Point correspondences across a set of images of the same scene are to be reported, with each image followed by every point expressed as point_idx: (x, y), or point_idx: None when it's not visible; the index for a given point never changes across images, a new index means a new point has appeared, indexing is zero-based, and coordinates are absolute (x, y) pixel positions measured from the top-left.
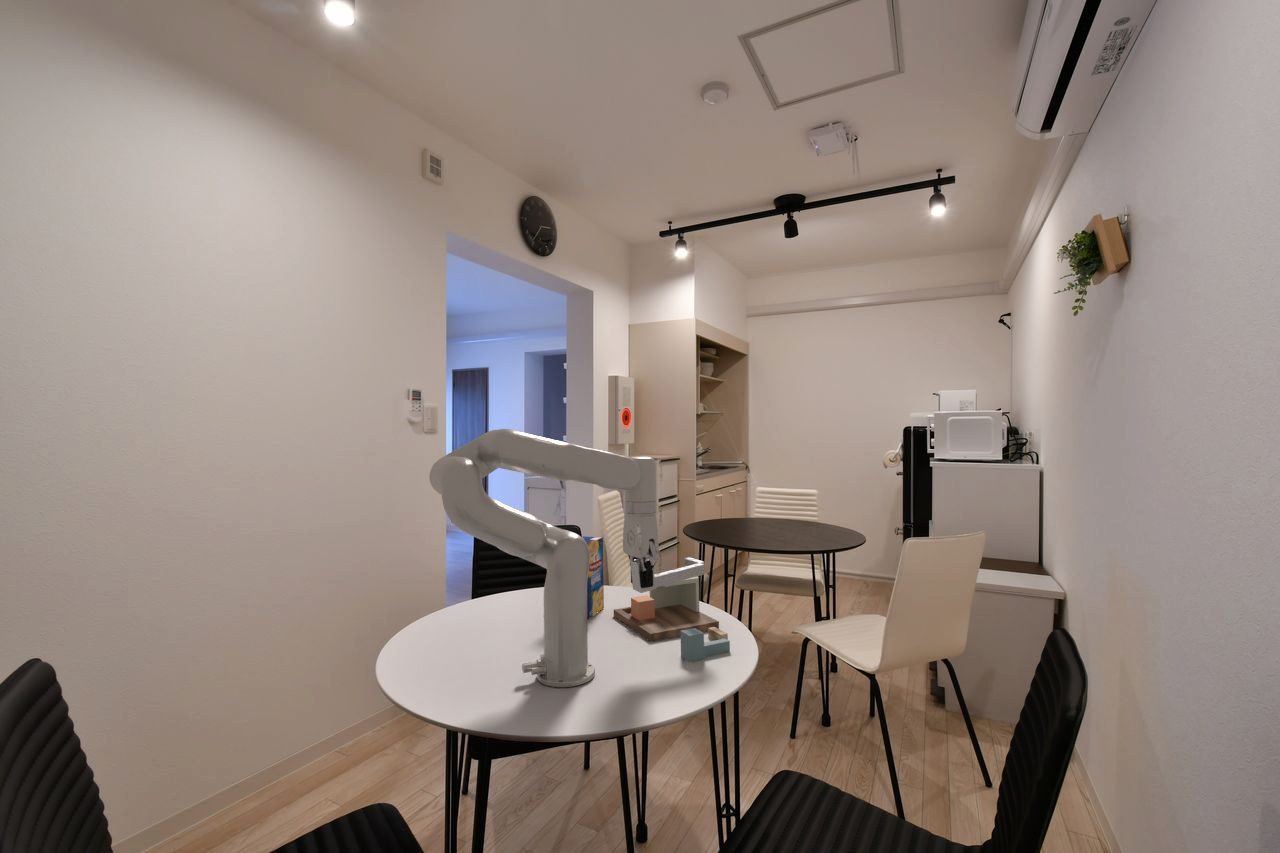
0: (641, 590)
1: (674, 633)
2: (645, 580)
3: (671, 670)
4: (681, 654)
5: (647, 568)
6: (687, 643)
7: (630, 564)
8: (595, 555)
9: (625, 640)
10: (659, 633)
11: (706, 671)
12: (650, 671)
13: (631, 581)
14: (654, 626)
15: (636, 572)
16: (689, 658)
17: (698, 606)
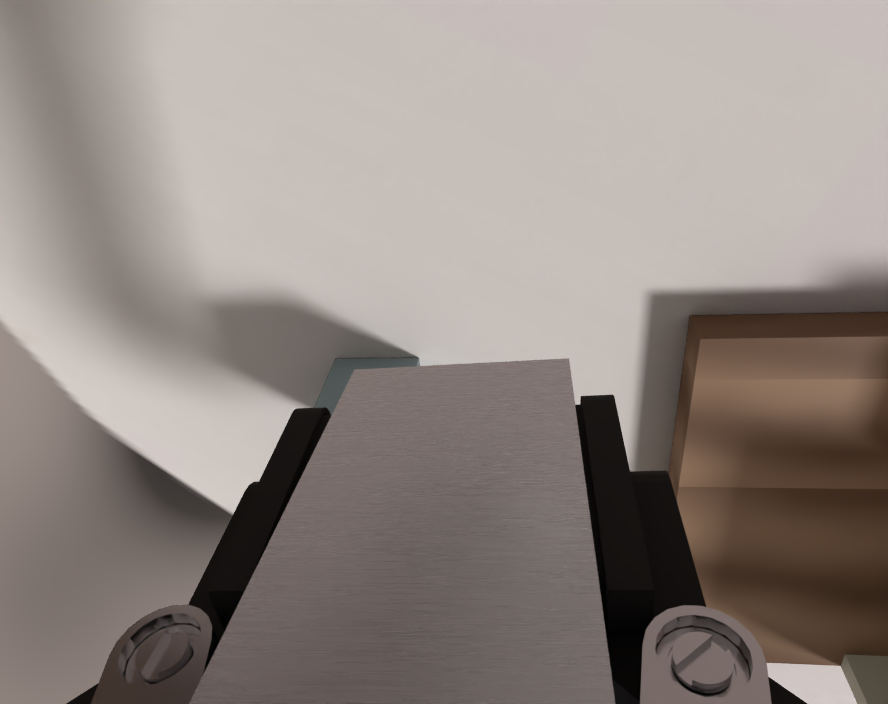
0: (346, 392)
1: (677, 456)
2: (239, 511)
3: (263, 239)
4: (411, 363)
5: (89, 694)
6: (332, 407)
7: (742, 647)
8: None
9: (815, 192)
10: (690, 387)
11: (211, 368)
12: (282, 133)
13: (591, 406)
14: (802, 409)
15: (368, 536)
16: (332, 367)
17: (853, 689)
